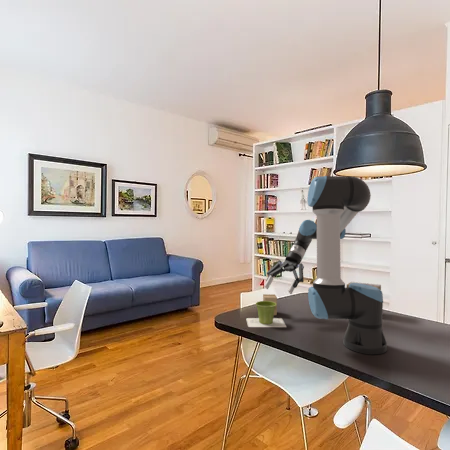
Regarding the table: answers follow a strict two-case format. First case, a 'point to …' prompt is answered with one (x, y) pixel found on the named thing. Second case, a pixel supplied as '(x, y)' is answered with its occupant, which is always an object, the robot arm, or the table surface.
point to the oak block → (271, 298)
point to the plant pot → (265, 311)
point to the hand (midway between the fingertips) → (277, 290)
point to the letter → (255, 323)
